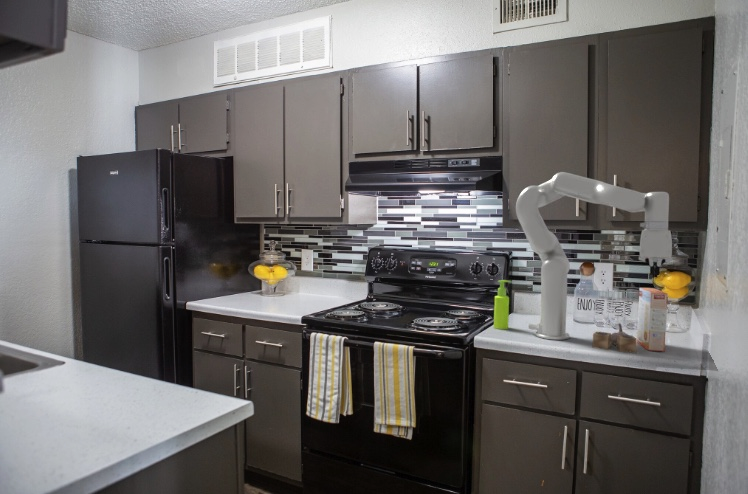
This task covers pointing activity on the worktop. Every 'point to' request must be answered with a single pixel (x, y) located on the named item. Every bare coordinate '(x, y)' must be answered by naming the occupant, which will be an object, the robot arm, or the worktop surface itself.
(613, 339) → the garlic bulb
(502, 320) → the soap dispenser
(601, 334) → the marked cube
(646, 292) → the cracker box
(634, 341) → the marked cube
